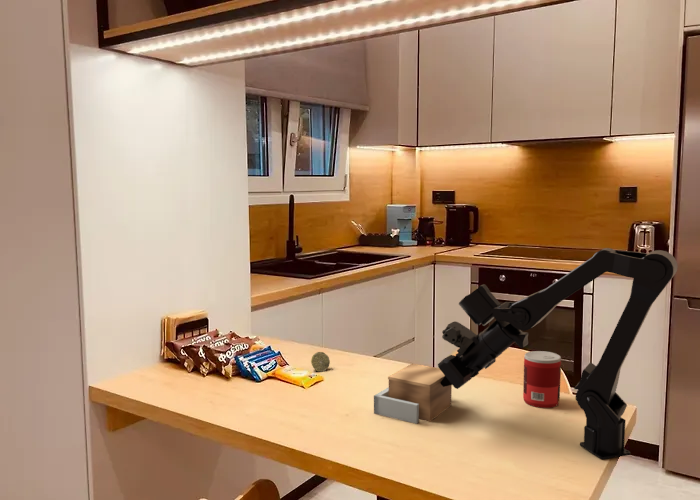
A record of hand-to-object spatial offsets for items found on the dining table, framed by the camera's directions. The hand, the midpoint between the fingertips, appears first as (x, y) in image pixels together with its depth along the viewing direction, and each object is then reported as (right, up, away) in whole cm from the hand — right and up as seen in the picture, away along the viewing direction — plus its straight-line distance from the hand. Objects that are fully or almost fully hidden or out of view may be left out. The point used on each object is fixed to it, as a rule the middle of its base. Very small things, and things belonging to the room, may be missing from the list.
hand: (442, 384), depth 132 cm
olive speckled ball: (-28, -3, +31) cm, 42 cm away
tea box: (-4, -6, +4) cm, 9 cm away
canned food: (+24, -6, +7) cm, 25 cm away
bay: (-6, -6, +5) cm, 10 cm away
